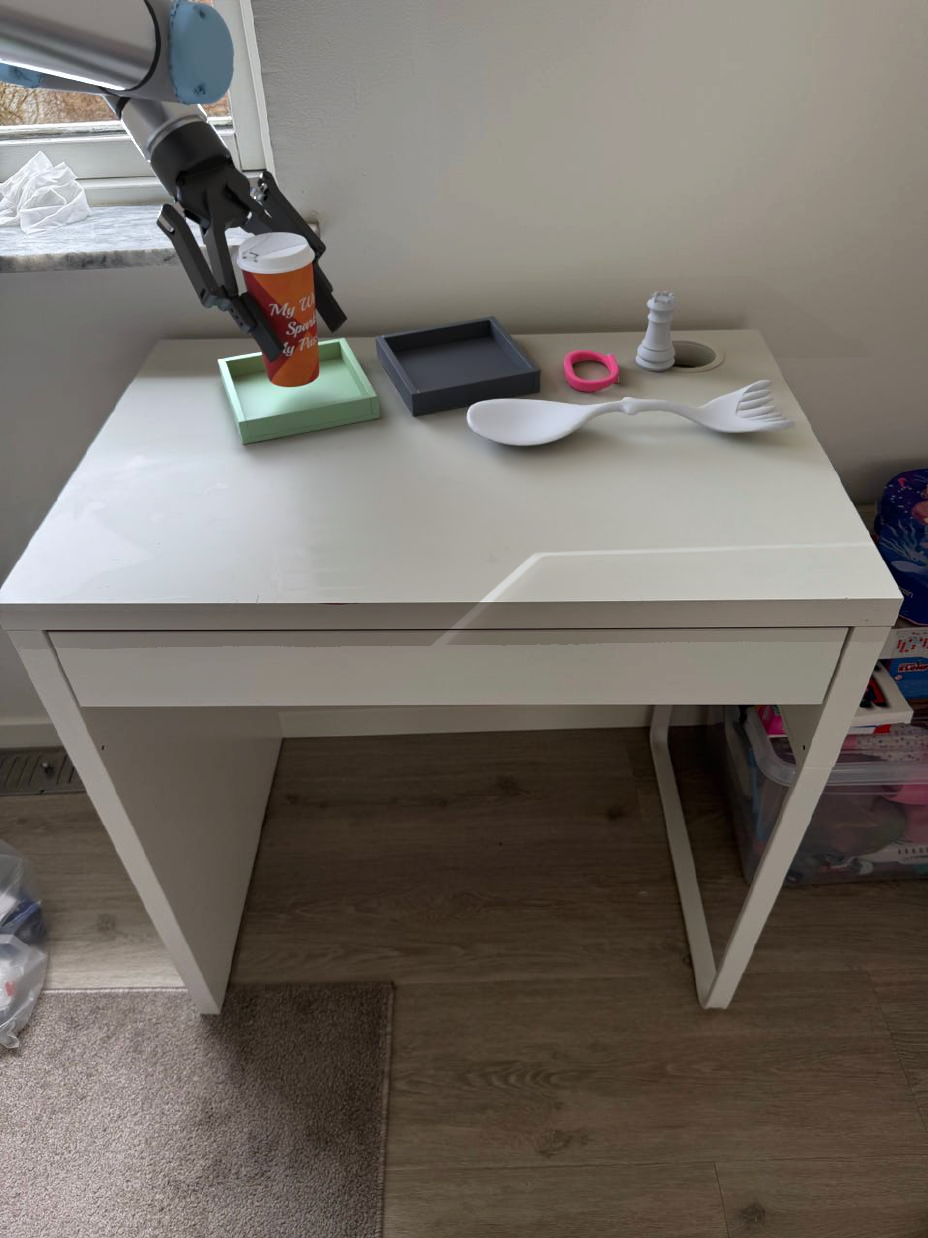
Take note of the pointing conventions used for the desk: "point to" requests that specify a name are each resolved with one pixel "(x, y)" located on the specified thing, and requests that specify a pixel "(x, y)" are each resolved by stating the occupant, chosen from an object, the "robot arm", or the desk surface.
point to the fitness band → (586, 384)
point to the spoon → (557, 420)
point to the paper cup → (284, 302)
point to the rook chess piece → (658, 334)
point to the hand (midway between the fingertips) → (309, 339)
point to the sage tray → (298, 395)
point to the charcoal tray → (456, 365)
